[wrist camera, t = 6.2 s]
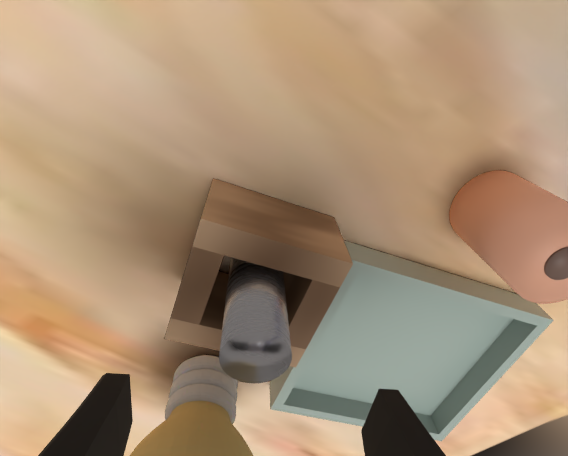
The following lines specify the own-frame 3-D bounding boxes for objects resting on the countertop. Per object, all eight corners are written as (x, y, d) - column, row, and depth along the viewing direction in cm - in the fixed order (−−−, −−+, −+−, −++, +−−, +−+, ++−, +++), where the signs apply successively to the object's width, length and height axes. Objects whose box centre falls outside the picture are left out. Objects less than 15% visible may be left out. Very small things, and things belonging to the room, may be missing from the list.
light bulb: (205, 417, 24) (174, 638, 15) (129, 367, 21) (41, 599, 13) (281, 373, 23) (295, 590, 14) (210, 312, 20) (172, 534, 11)
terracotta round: (542, 183, 17) (642, 234, 13) (497, 249, 19) (571, 314, 14) (476, 160, 17) (557, 204, 12) (435, 229, 18) (493, 292, 14)
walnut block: (334, 217, 18) (353, 263, 14) (289, 309, 20) (296, 367, 17) (213, 178, 16) (200, 218, 13) (181, 281, 19) (163, 339, 15)
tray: (531, 298, 21) (553, 320, 19) (430, 415, 26) (441, 441, 24) (344, 240, 18) (352, 259, 17) (269, 383, 23) (270, 409, 21)
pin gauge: (285, 231, 18) (299, 336, 12) (274, 270, 19) (282, 386, 13) (236, 222, 17) (224, 326, 11) (228, 263, 18) (213, 379, 12)
